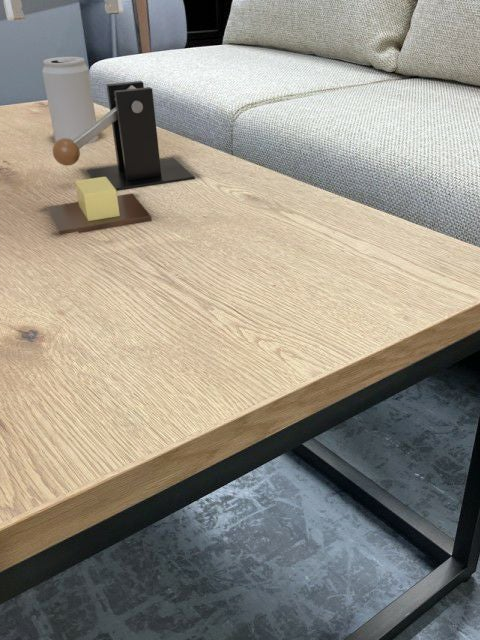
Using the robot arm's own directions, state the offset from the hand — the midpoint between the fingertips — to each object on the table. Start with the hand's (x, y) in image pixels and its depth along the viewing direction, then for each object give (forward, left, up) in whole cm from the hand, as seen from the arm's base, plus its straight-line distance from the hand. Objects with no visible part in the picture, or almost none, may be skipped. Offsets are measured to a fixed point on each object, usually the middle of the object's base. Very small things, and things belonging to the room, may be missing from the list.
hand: (66, 16), depth 68 cm
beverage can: (+4, +33, -21) cm, 39 cm away
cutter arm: (+4, +12, -15) cm, 20 cm away
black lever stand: (+8, +12, -21) cm, 26 cm away
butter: (0, 0, -20) cm, 20 cm away
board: (0, 0, -21) cm, 21 cm away
